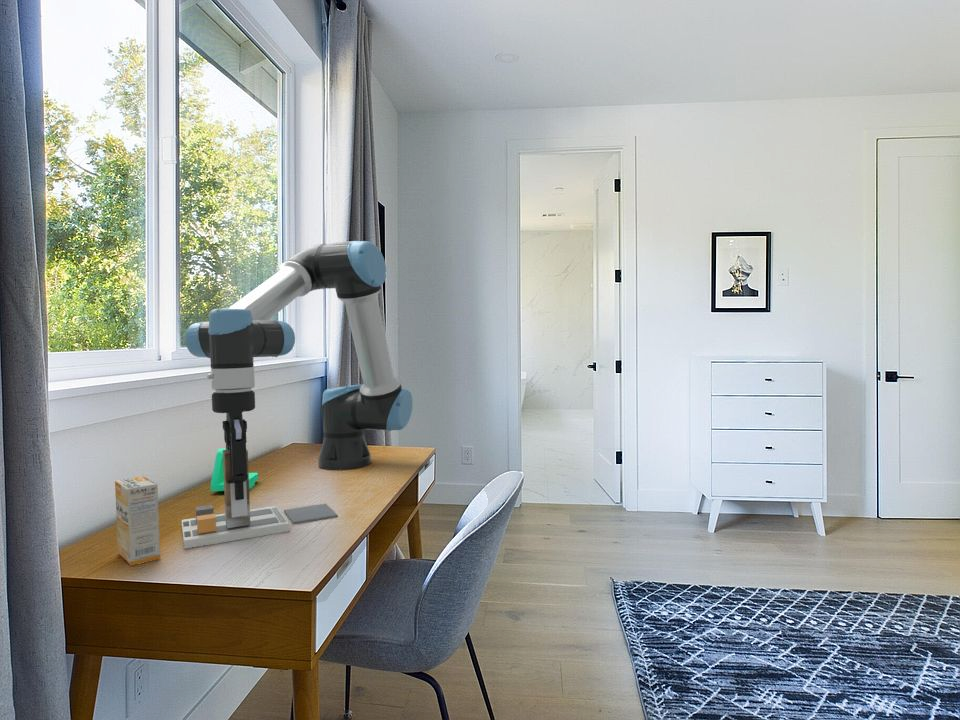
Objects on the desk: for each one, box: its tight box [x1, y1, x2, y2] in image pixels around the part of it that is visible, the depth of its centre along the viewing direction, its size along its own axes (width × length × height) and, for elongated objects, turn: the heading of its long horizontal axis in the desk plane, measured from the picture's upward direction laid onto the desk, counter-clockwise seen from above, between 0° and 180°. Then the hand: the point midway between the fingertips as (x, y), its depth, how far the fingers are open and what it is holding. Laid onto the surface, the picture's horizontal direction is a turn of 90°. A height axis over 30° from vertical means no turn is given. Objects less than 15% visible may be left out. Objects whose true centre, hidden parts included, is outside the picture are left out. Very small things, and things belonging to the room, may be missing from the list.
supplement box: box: [114, 475, 161, 567], centre depth 100 cm, size 8×5×13 cm, turn 45°
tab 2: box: [197, 513, 216, 534], centre depth 109 cm, size 3×3×2 cm
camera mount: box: [210, 447, 259, 492], centre depth 147 cm, size 12×8×10 cm, turn 3°
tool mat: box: [283, 503, 339, 525], centre depth 123 cm, size 9×10×1 cm
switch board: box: [181, 505, 290, 550], centre depth 114 cm, size 18×14×2 cm
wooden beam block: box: [223, 448, 251, 528], centre depth 111 cm, size 4×4×14 cm
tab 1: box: [195, 504, 215, 522], centre depth 115 cm, size 3×3×2 cm
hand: (238, 512), depth 112 cm, fingers closed on wooden beam block, 4 cm apart
